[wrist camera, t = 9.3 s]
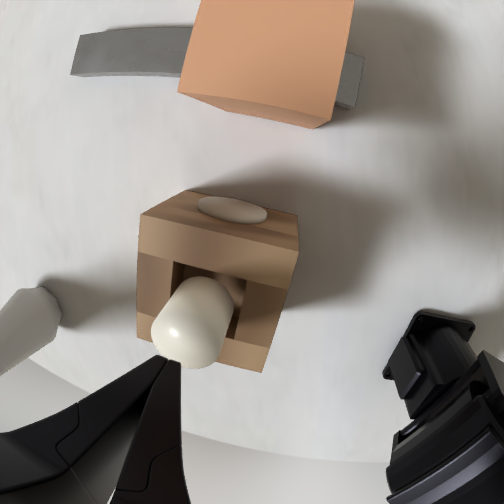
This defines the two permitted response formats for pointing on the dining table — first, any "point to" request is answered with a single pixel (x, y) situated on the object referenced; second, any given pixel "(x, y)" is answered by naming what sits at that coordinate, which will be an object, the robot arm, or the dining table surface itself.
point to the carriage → (268, 57)
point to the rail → (170, 57)
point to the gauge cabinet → (219, 265)
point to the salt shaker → (27, 325)
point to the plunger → (194, 322)
